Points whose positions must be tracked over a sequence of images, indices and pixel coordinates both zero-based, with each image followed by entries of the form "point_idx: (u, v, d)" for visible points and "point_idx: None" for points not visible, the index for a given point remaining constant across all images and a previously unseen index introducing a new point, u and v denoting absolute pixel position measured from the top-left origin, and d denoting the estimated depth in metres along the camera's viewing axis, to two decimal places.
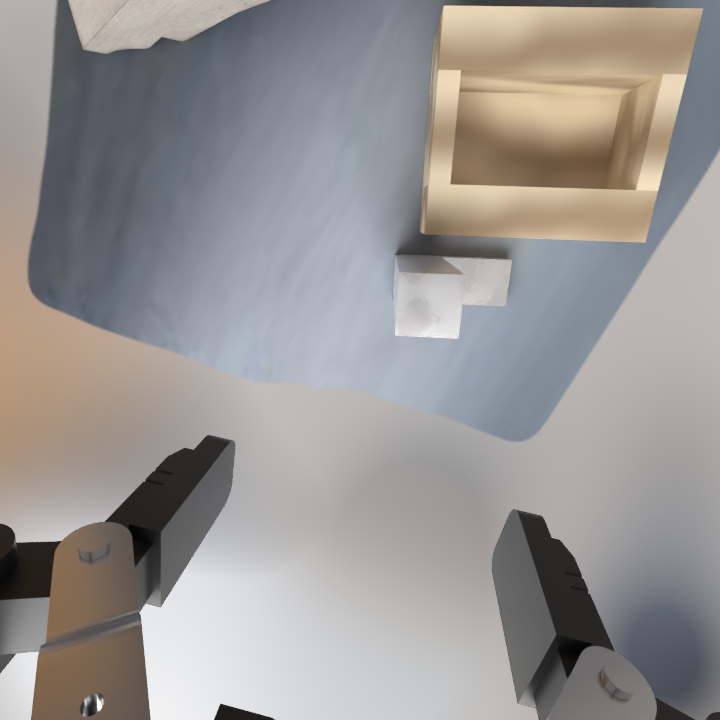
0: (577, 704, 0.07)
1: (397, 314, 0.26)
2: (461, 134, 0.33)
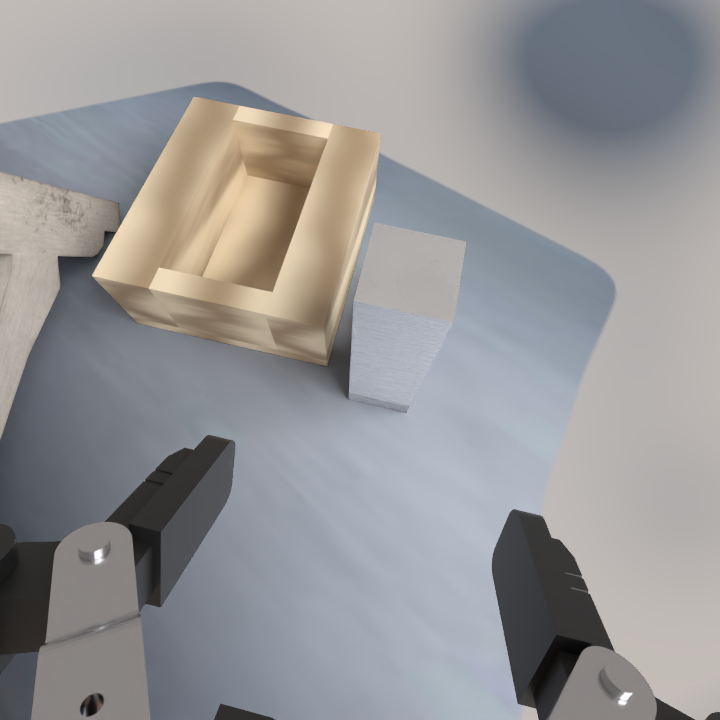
0: (577, 704, 0.07)
1: (419, 314, 0.16)
2: None
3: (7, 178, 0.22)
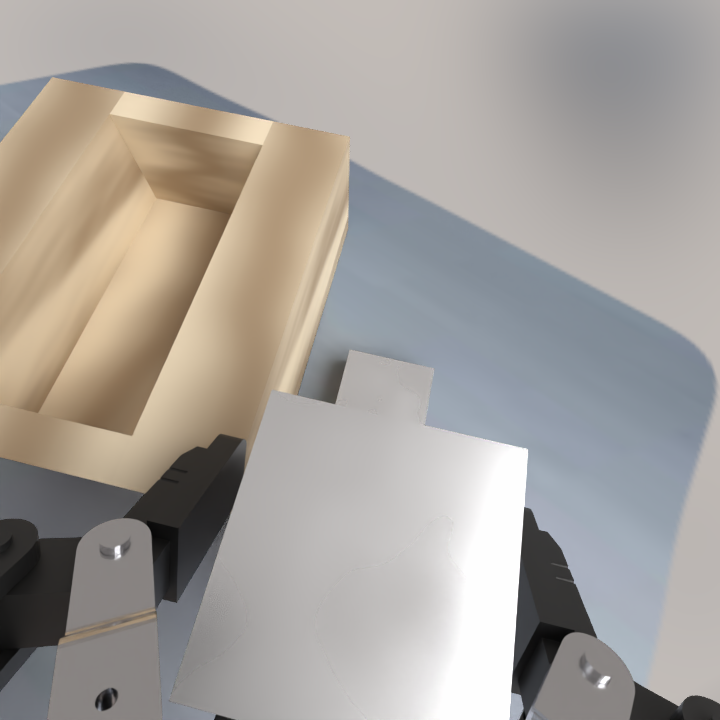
0: (557, 687, 0.07)
1: None
2: (108, 413, 0.18)
3: None
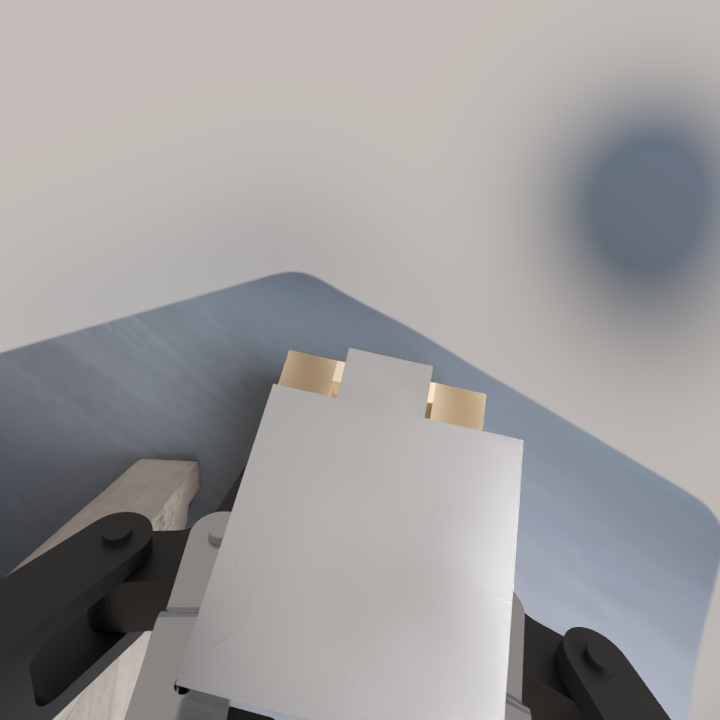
0: None
1: None
2: None
3: None
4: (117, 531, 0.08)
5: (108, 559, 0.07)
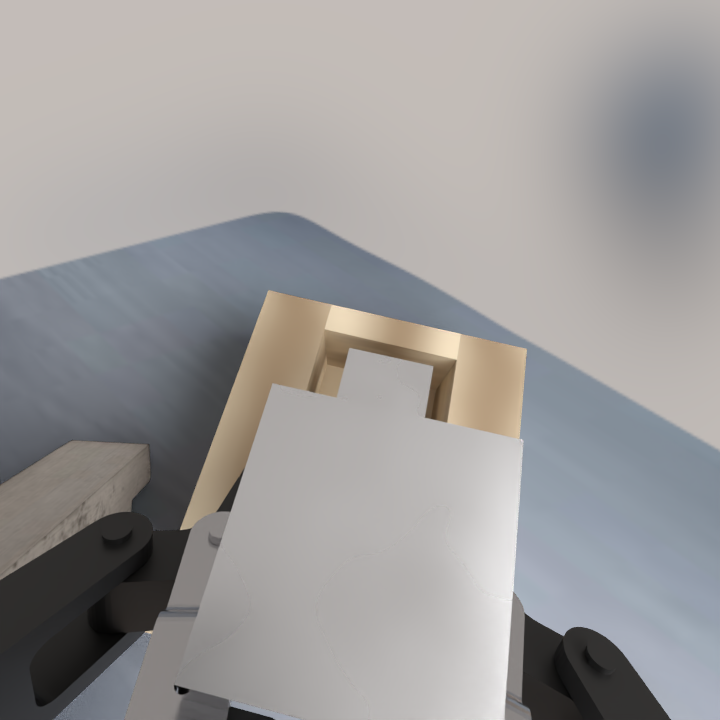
0: None
1: None
2: None
3: None
4: (117, 531, 0.08)
5: (108, 559, 0.07)
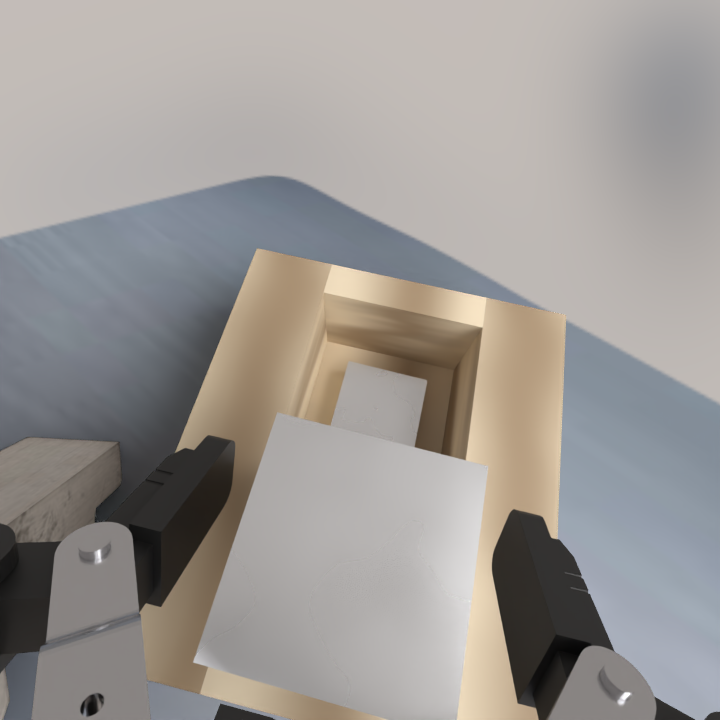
0: (577, 704, 0.07)
1: (363, 705, 0.06)
2: None
3: None
4: None
5: None
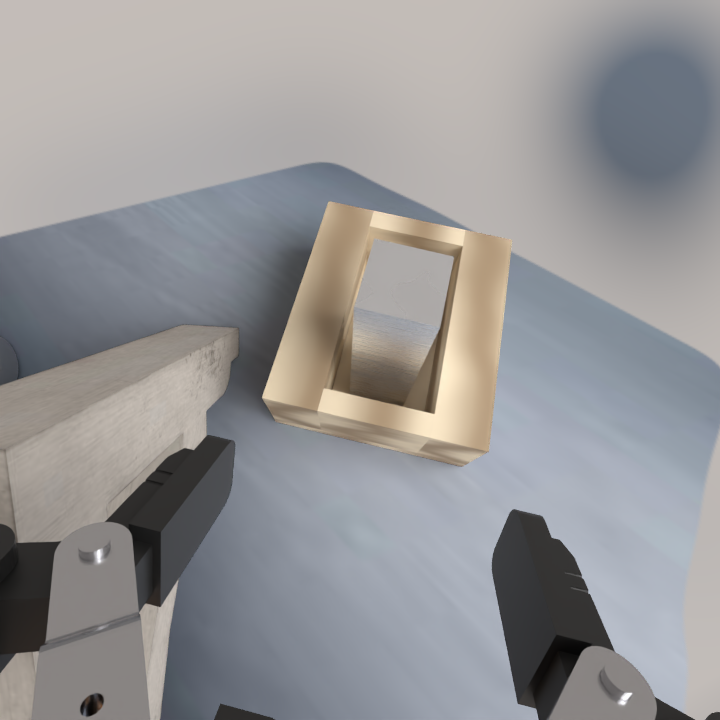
0: (577, 704, 0.07)
1: (410, 320, 0.19)
2: None
3: (183, 361, 0.22)
4: None
5: None
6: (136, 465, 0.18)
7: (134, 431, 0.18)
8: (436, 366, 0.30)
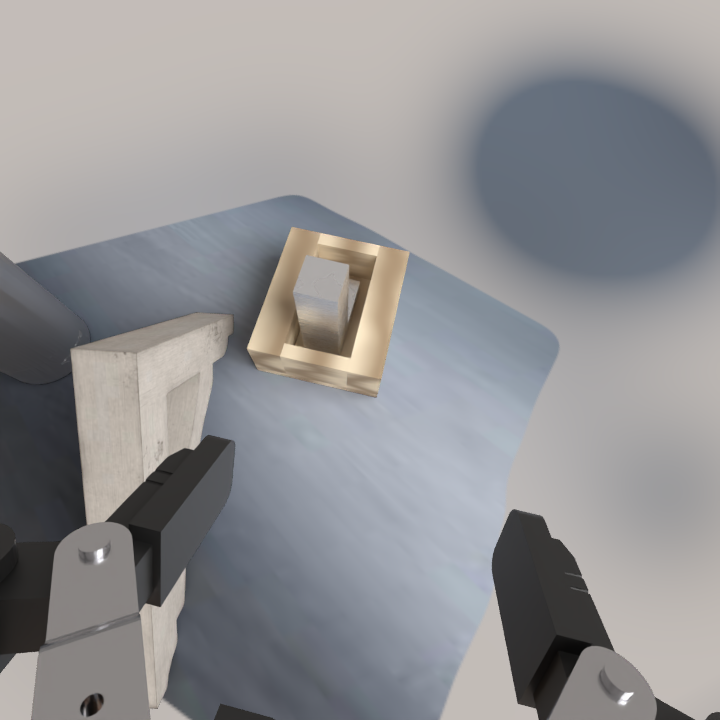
0: (577, 704, 0.07)
1: (322, 298, 0.36)
2: None
3: (200, 330, 0.39)
4: None
5: None
6: (178, 380, 0.35)
7: (177, 362, 0.34)
8: None
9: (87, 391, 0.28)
